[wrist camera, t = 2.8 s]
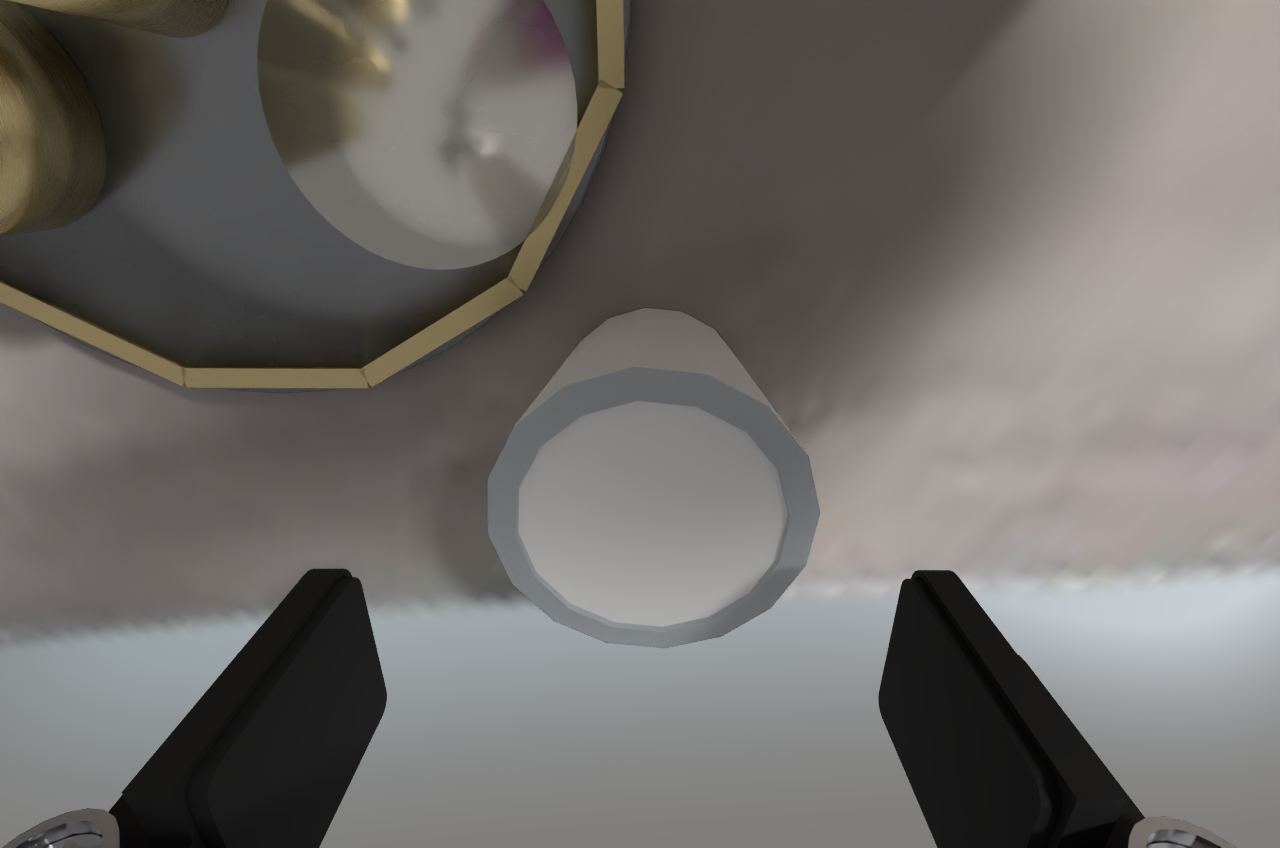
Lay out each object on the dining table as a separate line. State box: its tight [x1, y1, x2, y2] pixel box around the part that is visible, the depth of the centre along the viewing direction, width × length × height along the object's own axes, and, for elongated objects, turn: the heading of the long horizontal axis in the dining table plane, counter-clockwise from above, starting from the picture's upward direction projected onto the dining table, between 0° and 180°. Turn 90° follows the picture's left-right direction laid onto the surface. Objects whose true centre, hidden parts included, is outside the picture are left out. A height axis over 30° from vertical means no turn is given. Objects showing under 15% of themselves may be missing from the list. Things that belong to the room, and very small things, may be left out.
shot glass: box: [487, 308, 820, 648], centre depth 15 cm, size 7×7×7 cm
